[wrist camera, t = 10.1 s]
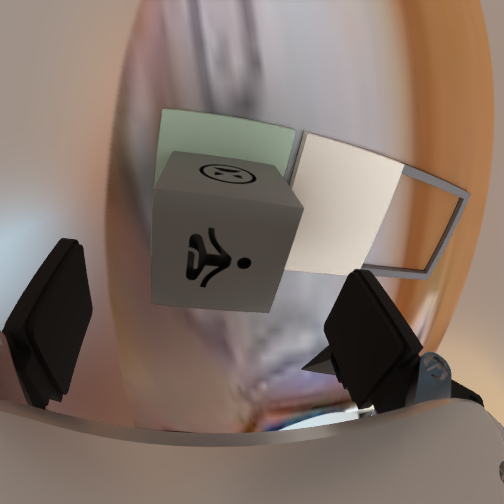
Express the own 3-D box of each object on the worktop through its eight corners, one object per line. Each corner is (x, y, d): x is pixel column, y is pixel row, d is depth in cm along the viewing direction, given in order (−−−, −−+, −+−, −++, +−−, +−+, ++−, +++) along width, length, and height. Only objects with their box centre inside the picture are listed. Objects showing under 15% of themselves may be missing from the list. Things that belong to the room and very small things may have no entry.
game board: (425, 277, 21) (428, 281, 20) (152, 250, 16) (150, 256, 16) (467, 191, 17) (472, 195, 16) (164, 108, 12) (162, 109, 11)
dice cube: (173, 150, 13) (154, 188, 8) (274, 165, 14) (304, 208, 10) (164, 239, 15) (151, 303, 11) (253, 249, 16) (269, 312, 12)
